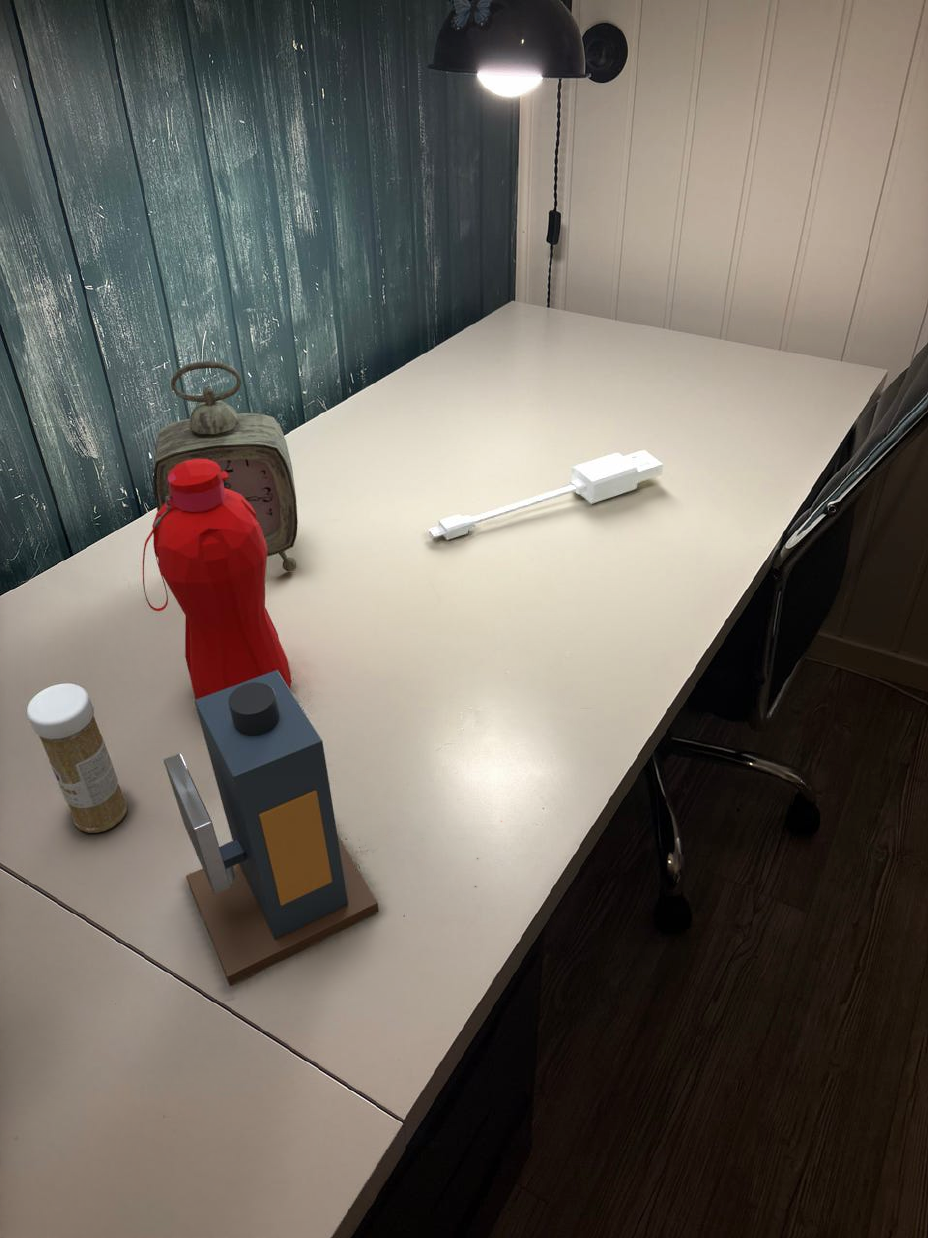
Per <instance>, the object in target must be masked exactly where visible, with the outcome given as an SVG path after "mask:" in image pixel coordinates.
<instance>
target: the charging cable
mask: <svg viewBox="0 0 928 1238" xmlns="http://www.w3.org/2000/svg"><path fill="white" fill-rule="evenodd" d="M663 467H664V464H663V463H662V462H661V461H660V460H659V459H657V458H656V457H654V456H653V455H652V454H650V453H649V452H647V451H646V450H645V449H644V450H639V451H637V452H634V453H630V454H627V455H624V456H623V455H621V453H619V452H615V453H612V454H608V455H606V456H602V457H599V458H596V459H593V460H589V461H587V462H584V463H580V464H577V465H574V466H572V467H571V481H570V484H569V485H567V486H564V487H561V488H558V489H555V490H551V491H549V492H546V493H543V494H539V495H537V496H534V497H530V498H527V499H523V500H521V501H518V502H517V501H516V502H515V503H511V504H509V505H505V506H501V507H499V508H496V509H493V510H490V511H486V512H483V513H481V514H478V515H475V516H470V515H469V514H467V515H463V516H461V515H460V514H456V515H452V516H450V517H446V518H442V519H439V520H438V521H437V522H438V523H437V524H438V525H437V526H434V527H431V528H428V529H427V530H428V533H429V534H430V535H431V537H432V538H433V539H435V538H438V537H442V536H443V537H444V538H445V540H446V541H449V540H453V539H455V538H458V537H461V536H464V535H467V534H468V532H469V531H468V530H470V529H472V528H473V529H474V528H475V527H476V524H480V523H482V522H486V521H488V520H491V519H494V518H497V517H500V516H504V515H507V514H509V513H512V512H516V511H518V510H519V511H520V510H521V509H524V508H525V509H526V508H528V507H531V506H534V505H537V504H541V503H543V502H546V501H549V500H552V499H556V498H558V497H562V496H564V495H568V494H571V493H573V492H575V494H577V495H580V496H581V497H582V498H583V499H584V500H586V501H587V502H588V503H589V504H590V505H592V504H595V503H598V502H601V501H604V500H607V499H610V498H613V497H616V496H619V495H622V494H625V493H628V492H631V491H635V490H636V489H638V483H642V482H644V481H647V480H651V479H654V478H656V477H660V476H662V475H663Z"/></svg>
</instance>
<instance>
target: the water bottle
mask: <svg viewBox="0 0 928 1238" xmlns="http://www.w3.org/2000/svg"><path fill="white" fill-rule="evenodd" d="M228 478H229V476H228V474H227V472H226V471H223V472H221V469H220V467H219V465H218V464H217V463H216V462H214V461H211V460H208V459H193V460H186V461H184V462H182V463H180V464H178V465H176V466H175V467H174V468H173V469H172V470H171V471H170V473H169V476H168V481H169V487H170V491H171V494H172V495H170V496H166V499H165V500H166V503H165V504H164V505H163V506H162V507H161V509H160V510H159V511H158V512H156V513H155V516H154V520H153V522H152V529H151V530H150V531H151V532H150V533H149V534H148V536H147V538H146V540H145V542H144V546H143V551H142V552H143V553H142V585H143V592H144V596H145V600H146V603H147V604H148V606H149V607H150V609H152V610H153V611H154V612H161V611H164V610H165V609H166V607H167V606H168V602H169V595H168V590H167V586H168V588H169V590H170V591H171V593H172V596H174V599H175V601H176V602H177V604H178V606H179V607H180V609H181V611H182V613H183V614H184V616H185V617H184V618H185V619H184V622H185V623H184V625H185V626H184V629H185V630H184V639H185V640H184V657H185V662H186V667H187V670H188V675H189V679H190V684H191V687H192V691H193V696H194V699H195V700H196V699H199V698H202V697H205V696H207V695H210V694H213V693H215V692H218V691H221V690H224V689H226V688H229V687H232V686H235V685H237V684H240V683H243V682H246V681H248V680H251V679H254V678H256V677H259V676H262V675H265V674H267V673H270V672H273V671H276V670H278V672H279V673H280V675H281V676H282V678H283V679H284V681H285V683H286V684H287V686H288V687H289V689H290V690H291V687H292V681H293V680H292V676H291V675H292V674H291V671H290V666H289V660H288V657H287V655H286V653H285V650H284V648H283V646H282V644H281V642H280V638H279V637H280V636H279V634H278V631H277V629H276V627H275V625H274V622H273V620H272V619H271V616H270V614H269V612H268V609H267V608H266V573H267V572H266V571H267V561H268V556H267V545H266V541H265V538H264V535H263V532H262V529H261V526H260V524H259V523H258V522H257V517H256V513H255V511H254V510H253V508H252V506H251V505H250V503H249V502H248V501H247V500H246V499H245V498H244V497H243V496H242V495H241V494H239V493H236V492H234V491H232V490H229V489H226V488H224V483H223V480H224V479H228ZM167 498H168V499H167ZM151 537H153V551H154V555H155V560H156V563H157V566H158V571H159V574H160V576H161V579H162V582H163V586H164V588H165V589H164V590H165V595H166V599H165V600H166V601H165V603H164V604H163V606H162V607H158V608H157V607H154V606H153V605H152V604H151V603H150V601H149V599H148V596H147V592H146V587H145V586H146V585H145V556H146V550H147V549H146V548H147V544H148V542H149V540H150V539H151ZM165 582H166V583H165ZM166 584H167V586H166ZM195 700H194V701H195Z"/></svg>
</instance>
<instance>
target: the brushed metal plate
mask: <svg viewBox="0 0 928 1238" xmlns="http://www.w3.org/2000/svg"><path fill="white" fill-rule="evenodd" d="M163 763H164V766H165V769H166V773H167V776H168V779H169V783H170V785H171V789H172V792H173V795H174V797H175V801H176V804H177V807H178V811H179V814H180V816H181V819H182V822H183V826H184V828H185V830H186V832H187V835H188V837H189V839H190V842H191V844H192V847H193V849H194V851H195V853H196V856H197V859H198V860H199V863H200V865H201V867H202V868H201V869H203V870H204V872H205V875H206V877H207V879H208V882H209V884H210V886H211V889H212V891H213V893H214V894H217V893H219V892H221V891H224V890H226V889H228V888H230V887H231V886H230V882H229V879H228V875H227V872H226V868H225V865H224V862H223V858H222V855H221V851H220V848H219V847H220V844H219V841H218V837H217V834H216V830H215V827H214V824H213V821H212V819H211V817H210V814H209V812H208V810H207V808H206V806H205V803H204V801H203V800H202V797H201V795H200V793H199V790H198V788H197V786H196V784H195V782H194V780H193V777H192V775H191V773H190V771H189V769H188V767H187V765H186V762H185V760H184V758H183V755H182V754H181V753H177V754H174V755H172V756H170V757H167V758H165V759H163Z"/></svg>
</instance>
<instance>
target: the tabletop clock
mask: <svg viewBox="0 0 928 1238" xmlns="http://www.w3.org/2000/svg"><path fill="white" fill-rule="evenodd" d="M204 369H219V370H224V371H226V372H228V373H230V374H232V375H233V376H234V377H235V380H236V385H234V386H233V387H232V388H231V389H229V390H226V391H223V392H220V393H219V392H218V393H215V392H214V389H213V388H212V387H204V388H203V390H202V394H203V395H193V394H186V393H185V392H182V391H179V390H178V388H177V386H176V385H177V381H178V379H179V378H180V377H182V376H183V375H185V374H187V373H188V372H193V371H196V370H197V371H198V370H204ZM241 386H242V378H241V374H240V373H239V372H238V371H237V370H236V369H235V367H233V366H231V365H230V364H228V363H224V362H221V361H213V360H212V361H211V360H210V361H209V360H206V361H197V362H196V361H195V362H192V363H189V364H186V365H184V366H182V367H180V368H179V369H177V370H176V371H175V373H174V374H173V375H172V378H171V381H170V387H171V390H172V392H173V393H174V394H175V395H176V396H178V397H179V398H181V399H182V400H185V401H189V402H192V403H193V402H194V403H199V404H198V405H196V406H195V407H194V408H193V410H192V412H191V414H190V418H186V419H180V420H177V421H174V422H171V423H168V424H167V425H164V426H163V427H161V428H160V429H159V430H158V435H157V438H156V445H155V454H154V463H153V471H152V472H153V473H152V484H153V493H154V494H153V495H154V499H155V505H156V510H157V512H158V511H159V510H160V509H161V507H162V506H163V505H164V504H165V503H166V500H165V499H166V496H170V495H172V494H171V491H170V487H169V481H168V476H169V473H170V471H171V470H172V469H173V468H174V467H175V466H176V465H178V464H180V463H182V462H184V461H186V460H193V459H208V460H211V461H214V462H216V463H217V464H218V465H219V467H220V469H221V472H223V471H226V472H227V474H228V476H229V478H228V479H224V480H223V483H224V488H226V489H229V490H232V491H234V492H236V493H239V494H241V495H242V496H243V497H244V498H245V499H246V500H247V501H248V502H249V503H250V505H251V506H252V508H253V510H254V511H255V513H256V517H257V522H258V523H259V524H260V526H261V529H262V532H263V535H264V538H265V541H266V545H267V557H271V556H275V555H279V557H280V558H281V559H282V560H283V561H282V568H283V570H284V571H285V572H289V573H291V572H294V571H295V570H296V568H297V561H296V560H295V559H294V558H293V557H288V556H287V554H286V552H285V551H288V550H290V549H292V548H293V547H294V545H295V543H296V542H295V541H296V539H297V535H298V526H299V525H298V523H299V522H298V521H299V520H298V506H297V494H296V487H295V480H294V479H295V478H294V470H293V465H292V460H291V456H290V452H289V448H288V444H287V440H286V437H285V434H284V431H283V429H282V427H281V426H280V424H279V423H278V421H277V420H276V418H275V417H274V416H271V415H267V414H264V413H259V412H258V413H257V412H238V413H237V411H236V410H235V408H233V406H231V405H229V404H228V403H227V402H224V401H223V400H226V399H228V398H230V397H232V396H234V395H236V393H237V392H238V391H239V390H240V388H241ZM167 499H168V498H167ZM157 512H156V513H157Z"/></svg>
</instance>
